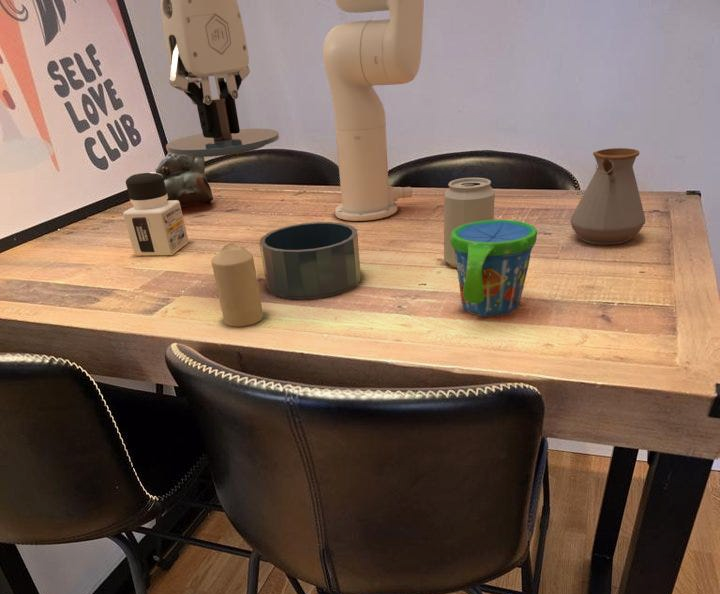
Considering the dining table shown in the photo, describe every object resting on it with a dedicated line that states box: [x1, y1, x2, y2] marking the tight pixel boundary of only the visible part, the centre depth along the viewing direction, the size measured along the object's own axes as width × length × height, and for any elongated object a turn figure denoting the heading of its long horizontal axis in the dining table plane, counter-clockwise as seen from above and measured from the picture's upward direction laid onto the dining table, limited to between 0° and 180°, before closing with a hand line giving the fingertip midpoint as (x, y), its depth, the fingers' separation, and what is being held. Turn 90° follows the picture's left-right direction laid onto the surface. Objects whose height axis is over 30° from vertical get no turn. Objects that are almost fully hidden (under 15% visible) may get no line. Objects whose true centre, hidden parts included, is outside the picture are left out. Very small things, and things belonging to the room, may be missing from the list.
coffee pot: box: [570, 147, 646, 246], centre depth 99 cm, size 21×12×15 cm, turn 156°
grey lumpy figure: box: [155, 152, 214, 207], centre depth 144 cm, size 15×12×14 cm
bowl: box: [258, 221, 362, 301], centre depth 98 cm, size 15×15×7 cm
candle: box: [210, 242, 264, 327], centre depth 87 cm, size 6×6×10 cm
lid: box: [165, 96, 280, 158], centre depth 88 cm, size 16×16×6 cm
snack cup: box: [450, 219, 538, 318], centre depth 84 cm, size 16×10×10 cm
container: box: [122, 171, 189, 257], centre depth 117 cm, size 8×8×13 cm
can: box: [443, 177, 496, 269], centre depth 99 cm, size 8×8×12 cm
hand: (221, 133), depth 89 cm, fingers closed on lid, 2 cm apart
